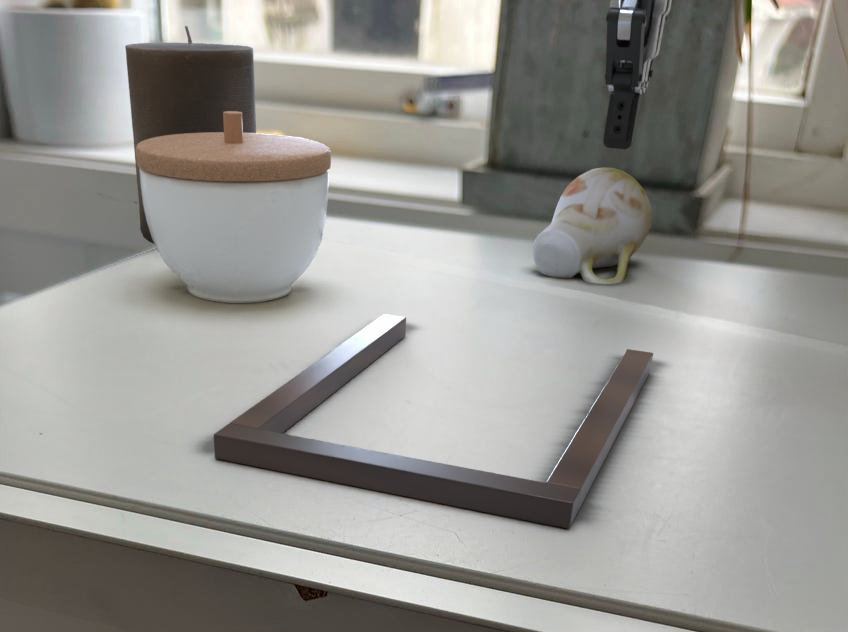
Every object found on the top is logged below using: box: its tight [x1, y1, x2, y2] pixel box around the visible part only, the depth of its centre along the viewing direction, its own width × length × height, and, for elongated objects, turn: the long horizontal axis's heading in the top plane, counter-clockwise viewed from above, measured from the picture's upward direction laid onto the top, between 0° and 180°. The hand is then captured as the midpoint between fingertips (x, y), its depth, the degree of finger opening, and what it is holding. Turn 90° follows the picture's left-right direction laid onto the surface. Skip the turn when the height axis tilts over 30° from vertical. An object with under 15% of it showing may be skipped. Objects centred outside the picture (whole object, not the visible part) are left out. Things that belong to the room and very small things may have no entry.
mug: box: [532, 167, 652, 285], centre depth 76 cm, size 8×10×10 cm
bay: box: [213, 313, 654, 530], centre depth 52 cm, size 22×16×1 cm
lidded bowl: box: [134, 111, 332, 304], centre depth 67 cm, size 13×13×11 cm
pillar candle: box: [124, 25, 257, 245], centre depth 79 cm, size 10×10×15 cm
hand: (617, 146), depth 80 cm, fingers closed
